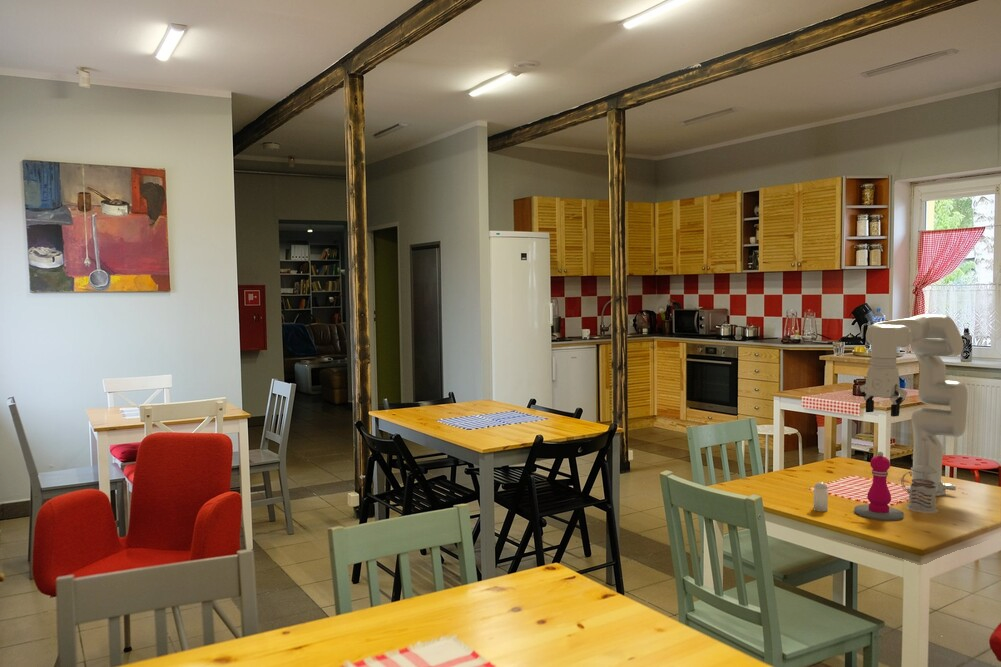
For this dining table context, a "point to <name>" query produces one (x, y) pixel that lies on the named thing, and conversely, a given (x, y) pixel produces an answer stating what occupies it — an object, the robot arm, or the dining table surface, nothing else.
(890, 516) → the disc
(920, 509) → the french press
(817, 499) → the salt shaker
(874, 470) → the pepper mill
